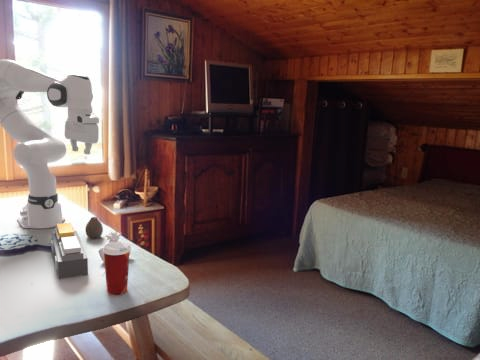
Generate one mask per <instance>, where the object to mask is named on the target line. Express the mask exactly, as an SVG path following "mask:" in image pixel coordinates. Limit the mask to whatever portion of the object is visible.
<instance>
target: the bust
mask: <svg viewBox="0 0 480 360" xmlns="http://www.w3.org/2000/svg"><path fill="white" fill-rule="evenodd" d="M121 236H122V232H118V231H117V232H116V231H114V230H113V231H112V230H111V231H109V232H108V233H107V234H106V235H105V238H107V239H106V240H107V241H108V243H112V242H120V243H121V242H122V241H119V240H120V237H121ZM105 245H106V244H104V245H103V246H101V247H100V248H99V249H98V253H99V254H98V255H99V256H100V259H101V261H102V262H104V263H105V260H104V253H103V249H104V246H105ZM129 247H130V249H131V250H130V252H129V256H130V255H131V251H132V247H131V244H129Z"/></svg>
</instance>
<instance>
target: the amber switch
mask: <svg viewBox="0 0 480 360" xmlns="http://www.w3.org/2000/svg"><path fill="white" fill-rule="evenodd" d="M72 226H73V225H72V222H64V223H63V222H62V223H60V224H57V226H56V228H57V230H58V233H59V237H60V238H61V237H70V236H74V231H75V230H73V229H74V227H72Z"/></svg>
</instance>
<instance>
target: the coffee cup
mask: <svg viewBox="0 0 480 360" xmlns="http://www.w3.org/2000/svg"><path fill="white" fill-rule="evenodd" d="M120 242H121V243H120ZM104 245H105V246H104ZM104 245H103V246H104V249H103V253H104V260H105V262H104V269H105V284H106V292H107V294H109V295H111V296H120V295H124V294H125V293H127V290H128V281H129V279H128V278H129V265H130V263H129V262H130V255H129V252H130V250H131V251H132V248H131V249H130V247H129V245H130V244H129V243H128V242H125V241H118V242H112V243H109V242H108V243H107V244H104ZM130 253H131V252H130Z"/></svg>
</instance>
